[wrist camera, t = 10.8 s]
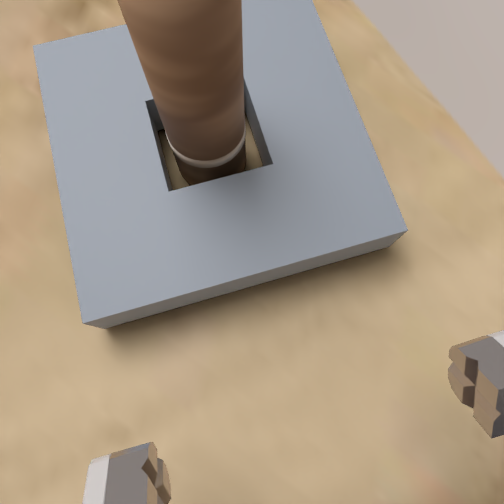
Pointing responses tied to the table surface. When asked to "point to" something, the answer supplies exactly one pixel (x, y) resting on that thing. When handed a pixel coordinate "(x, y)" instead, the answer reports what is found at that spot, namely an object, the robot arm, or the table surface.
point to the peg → (194, 79)
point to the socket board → (215, 191)
